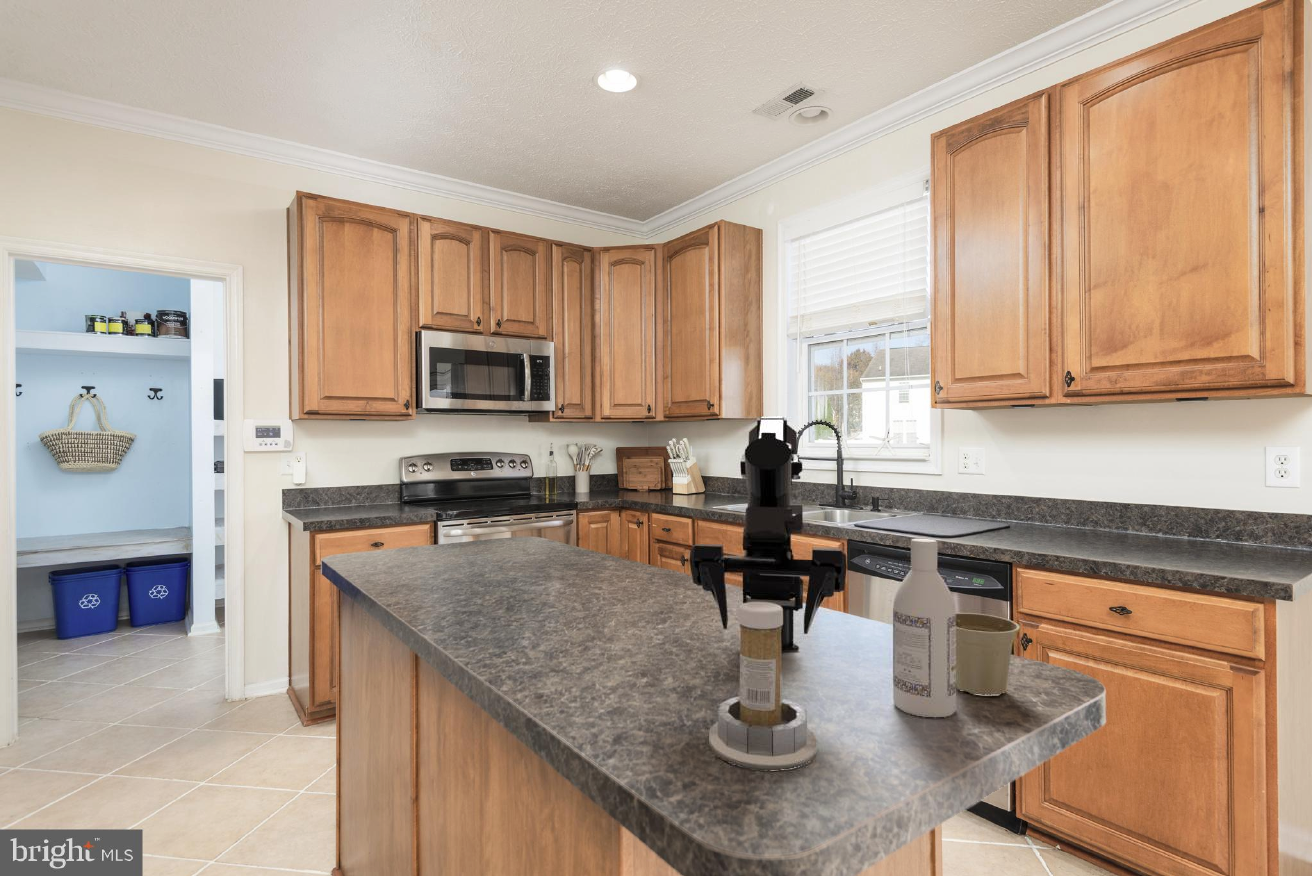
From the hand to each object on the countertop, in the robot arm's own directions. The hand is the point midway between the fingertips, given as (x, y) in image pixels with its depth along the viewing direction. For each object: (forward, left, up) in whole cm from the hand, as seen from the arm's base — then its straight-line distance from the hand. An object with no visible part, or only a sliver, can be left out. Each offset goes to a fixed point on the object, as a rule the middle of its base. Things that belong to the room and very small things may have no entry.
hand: (764, 629), depth 76 cm
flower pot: (-30, 0, -10) cm, 32 cm away
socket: (+4, +6, -10) cm, 12 cm away
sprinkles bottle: (+4, +6, -9) cm, 12 cm away
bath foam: (-19, +3, -10) cm, 22 cm away
